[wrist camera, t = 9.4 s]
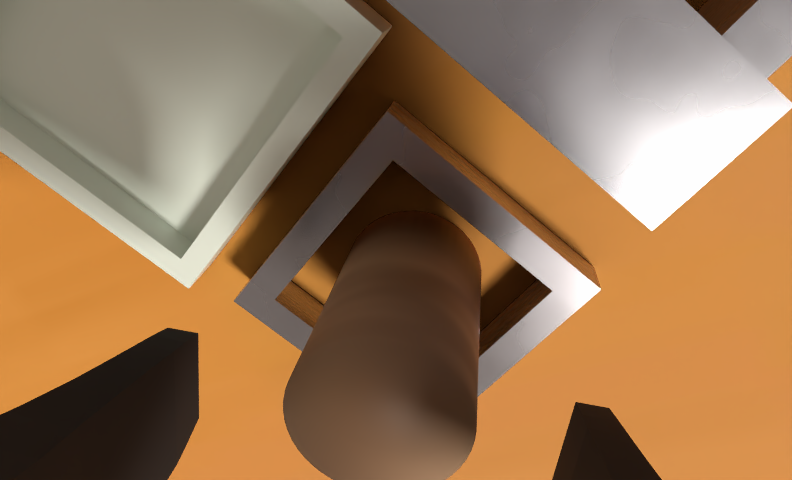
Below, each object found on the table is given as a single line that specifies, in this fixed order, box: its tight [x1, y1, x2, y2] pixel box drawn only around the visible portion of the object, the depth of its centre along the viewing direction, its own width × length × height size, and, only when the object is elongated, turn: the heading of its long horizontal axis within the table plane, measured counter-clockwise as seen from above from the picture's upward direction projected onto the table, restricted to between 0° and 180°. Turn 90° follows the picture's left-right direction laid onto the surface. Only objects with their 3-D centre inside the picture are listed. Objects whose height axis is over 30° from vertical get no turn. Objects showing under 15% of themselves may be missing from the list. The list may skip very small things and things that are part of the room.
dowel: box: [283, 211, 481, 480], centre depth 14 cm, size 4×4×6 cm
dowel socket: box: [234, 101, 601, 397], centre depth 17 cm, size 7×7×1 cm
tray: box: [0, 0, 392, 288], centre depth 15 cm, size 8×8×2 cm
